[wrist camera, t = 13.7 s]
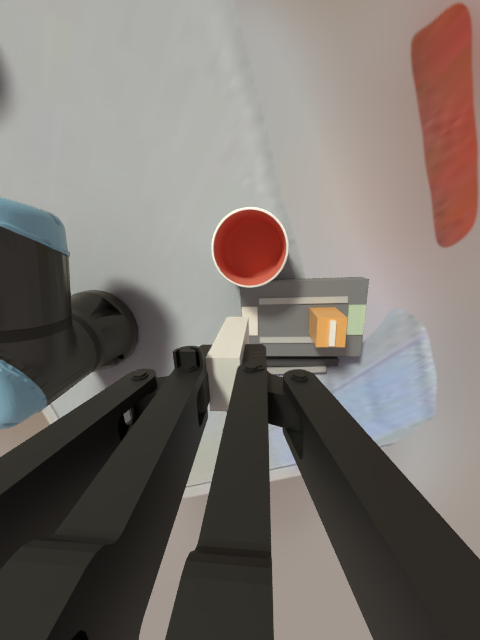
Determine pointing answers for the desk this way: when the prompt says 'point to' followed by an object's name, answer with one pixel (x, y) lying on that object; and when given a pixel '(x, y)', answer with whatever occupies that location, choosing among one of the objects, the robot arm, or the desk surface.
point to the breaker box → (303, 314)
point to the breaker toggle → (327, 327)
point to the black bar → (302, 360)
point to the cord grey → (286, 368)
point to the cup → (250, 247)
